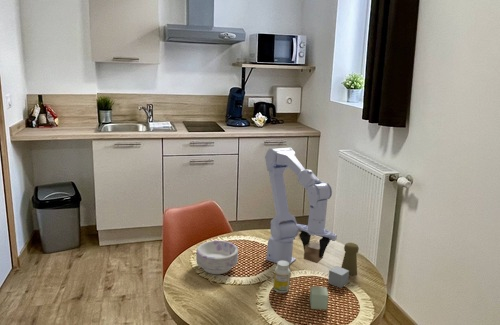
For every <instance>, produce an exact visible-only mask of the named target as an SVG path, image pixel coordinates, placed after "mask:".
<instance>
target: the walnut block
mask: <svg viewBox="0 0 500 325" xmlns="http://www.w3.org/2000/svg"><path fill="white" fill-rule="evenodd" d="M319 252H320V243H319V242H315V241H311V240H310V242H309V243H308V244H306V245H305V249H304V248H303V260H305V261H309V262H312V263H315V264H318V263H319V262H320V261H321V260H322V259H324V256H323V257H322V258H319Z"/></svg>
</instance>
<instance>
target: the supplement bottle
mask: <svg viewBox="0 0 500 325" xmlns="http://www.w3.org/2000/svg"><path fill="white" fill-rule="evenodd" d="M276 264H277V265H276V267H275V269H274V274H273V276H274V277H273V279H274V280H273V290H274V291H276V292H277V293H280V294H283V293H287V292H289V290H290V285H291V284H290V283H291V273H292V271H291V269H290V264H289V262H287V261H283V260H282V261H278V262H277V263H276Z"/></svg>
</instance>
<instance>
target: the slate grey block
mask: <svg viewBox="0 0 500 325" xmlns="http://www.w3.org/2000/svg"><path fill="white" fill-rule="evenodd" d="M341 267H342V266H339V265H335V266H334V267H333V268H330V269H329V271H328V280H327V283H328V284H329V283H330V284H329V285H332V286H335V287H336V286H337V287H336V288H338V287H339V288H338V289H342V288H344V287H345V286H346V285H348V284H349V277H350V275H349V270H346V269H344V268H341ZM347 283H348V284H347ZM344 285H345V286H344ZM341 287H342V288H341Z"/></svg>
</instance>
